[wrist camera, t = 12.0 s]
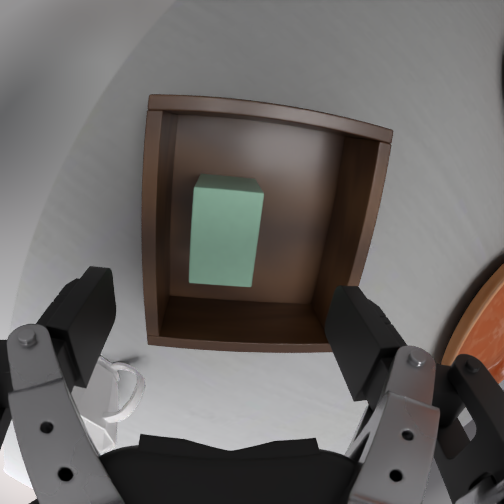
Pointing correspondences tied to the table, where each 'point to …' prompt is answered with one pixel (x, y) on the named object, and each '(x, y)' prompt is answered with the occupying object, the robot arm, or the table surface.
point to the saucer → (482, 328)
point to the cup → (106, 402)
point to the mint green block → (224, 230)
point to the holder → (271, 225)
